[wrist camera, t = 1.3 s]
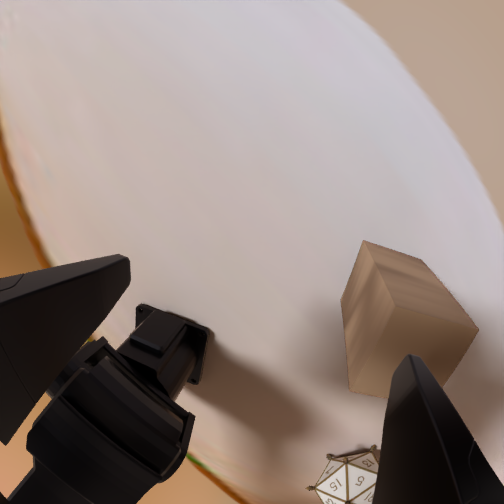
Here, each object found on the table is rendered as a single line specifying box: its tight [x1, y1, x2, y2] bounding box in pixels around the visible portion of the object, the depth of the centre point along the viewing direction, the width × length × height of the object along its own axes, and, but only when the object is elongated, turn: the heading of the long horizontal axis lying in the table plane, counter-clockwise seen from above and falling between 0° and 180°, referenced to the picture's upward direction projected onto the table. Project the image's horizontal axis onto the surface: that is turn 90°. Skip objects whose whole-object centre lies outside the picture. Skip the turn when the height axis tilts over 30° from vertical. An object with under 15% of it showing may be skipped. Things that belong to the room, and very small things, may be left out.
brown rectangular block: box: [341, 240, 479, 399], centre depth 15 cm, size 4×4×9 cm
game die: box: [305, 445, 379, 504], centre depth 21 cm, size 9×8×10 cm
